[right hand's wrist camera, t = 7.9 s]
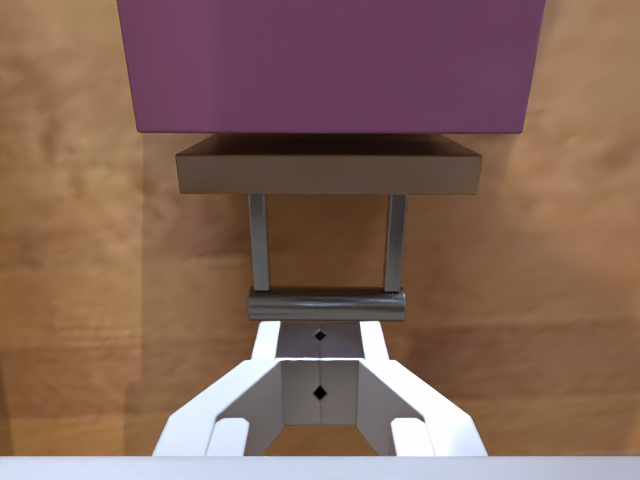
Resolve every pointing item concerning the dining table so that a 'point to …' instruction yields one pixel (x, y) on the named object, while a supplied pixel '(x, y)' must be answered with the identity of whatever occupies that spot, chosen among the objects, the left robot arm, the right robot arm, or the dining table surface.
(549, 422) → the dining table surface
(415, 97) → the cabinet
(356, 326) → the right robot arm
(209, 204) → the dining table surface
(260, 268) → the drawer
